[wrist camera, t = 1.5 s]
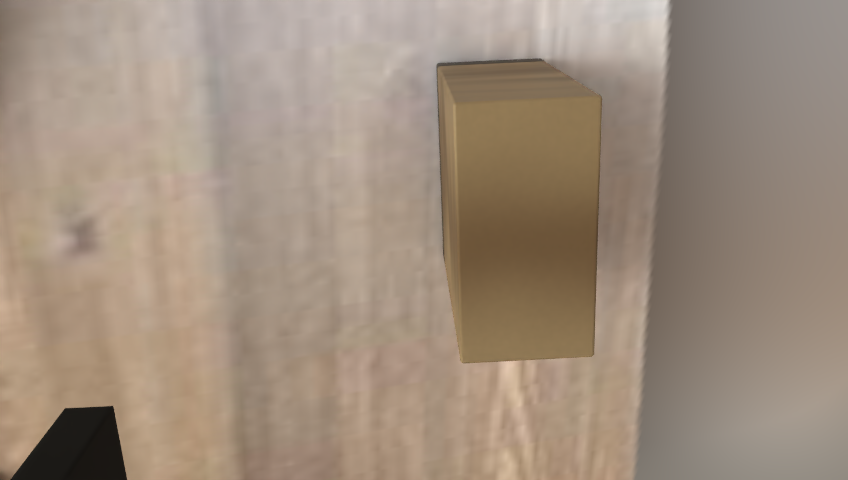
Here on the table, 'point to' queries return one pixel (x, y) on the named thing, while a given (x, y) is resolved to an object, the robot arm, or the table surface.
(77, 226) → the table surface
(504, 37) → the table surface
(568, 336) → the tan rectangular block
